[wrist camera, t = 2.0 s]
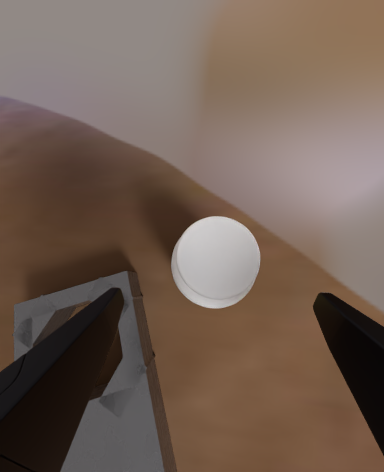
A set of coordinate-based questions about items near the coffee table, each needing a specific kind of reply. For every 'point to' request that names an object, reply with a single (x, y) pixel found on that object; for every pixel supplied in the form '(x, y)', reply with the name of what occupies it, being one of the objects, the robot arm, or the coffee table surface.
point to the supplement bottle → (215, 262)
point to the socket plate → (117, 390)
